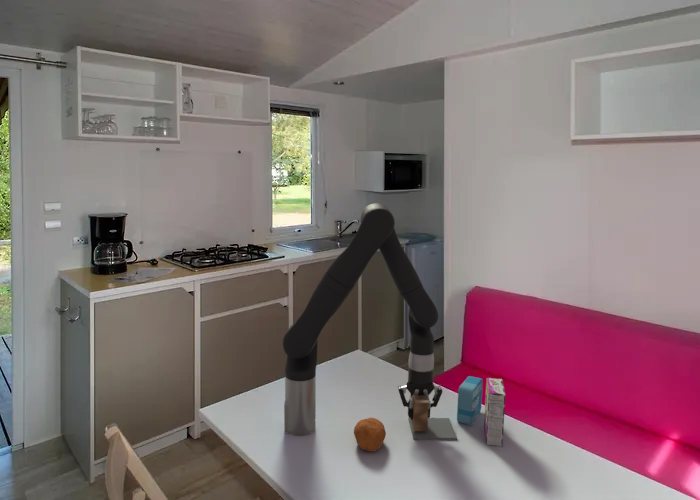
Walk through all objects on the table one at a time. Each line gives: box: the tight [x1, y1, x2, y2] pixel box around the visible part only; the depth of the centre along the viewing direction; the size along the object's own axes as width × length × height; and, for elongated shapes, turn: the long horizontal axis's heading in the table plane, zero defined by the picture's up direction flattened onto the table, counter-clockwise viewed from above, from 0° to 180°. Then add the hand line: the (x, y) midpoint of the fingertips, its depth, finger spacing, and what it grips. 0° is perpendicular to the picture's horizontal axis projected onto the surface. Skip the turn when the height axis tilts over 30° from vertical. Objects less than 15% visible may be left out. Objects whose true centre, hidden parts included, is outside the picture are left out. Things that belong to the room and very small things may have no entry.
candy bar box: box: [483, 377, 506, 448], centre depth 152 cm, size 11×5×16 cm, turn 168°
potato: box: [353, 417, 387, 452], centre depth 147 cm, size 9×11×8 cm
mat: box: [408, 417, 458, 441], centre depth 157 cm, size 13×12×1 cm
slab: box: [411, 395, 430, 431], centre depth 156 cm, size 4×9×10 cm, turn 1°
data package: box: [456, 375, 484, 426], centre depth 164 cm, size 12×4×12 cm, turn 150°
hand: (418, 418), depth 157 cm, fingers closed on slab, 4 cm apart
